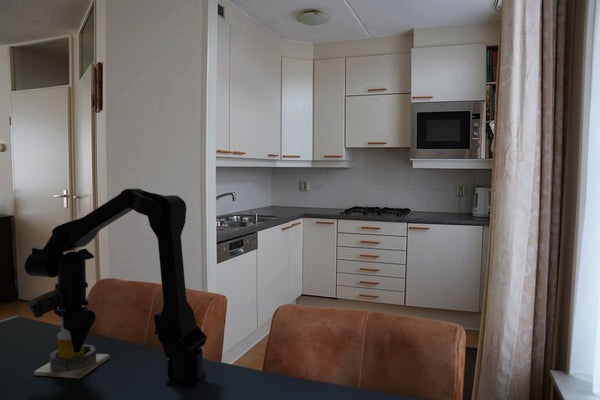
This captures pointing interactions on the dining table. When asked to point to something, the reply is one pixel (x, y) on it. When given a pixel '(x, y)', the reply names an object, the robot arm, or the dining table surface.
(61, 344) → the supplement bottle
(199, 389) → the dining table surface
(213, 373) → the dining table surface
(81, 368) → the collar
